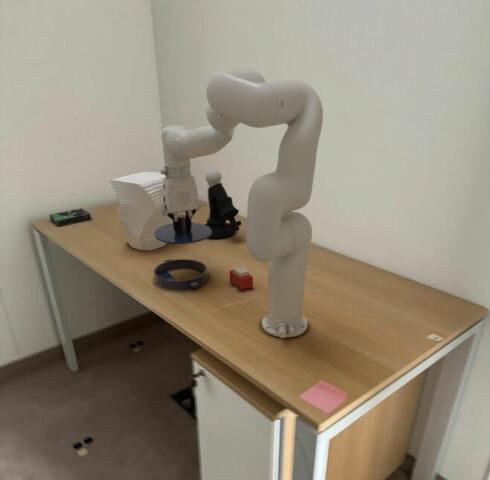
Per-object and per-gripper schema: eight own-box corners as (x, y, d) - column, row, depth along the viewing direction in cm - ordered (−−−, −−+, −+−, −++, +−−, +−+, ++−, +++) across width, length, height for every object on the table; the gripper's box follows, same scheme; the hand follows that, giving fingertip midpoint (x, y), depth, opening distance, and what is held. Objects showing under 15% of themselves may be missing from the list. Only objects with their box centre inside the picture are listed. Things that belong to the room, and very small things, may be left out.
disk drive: (82, 214, 214) (50, 220, 206) (81, 208, 212) (48, 214, 204) (91, 219, 207) (58, 226, 199) (90, 213, 205) (57, 220, 197)
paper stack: (113, 245, 180) (102, 177, 166) (167, 227, 197) (161, 164, 183) (146, 260, 168) (137, 188, 154) (201, 239, 185) (197, 173, 171)
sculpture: (222, 224, 200) (220, 164, 187) (254, 240, 184) (254, 175, 170) (191, 231, 193) (187, 169, 180) (221, 249, 176) (219, 182, 163)
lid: (167, 250, 137) (165, 229, 134) (146, 231, 150) (144, 213, 147) (221, 238, 144) (220, 219, 141) (197, 222, 158) (196, 204, 154)
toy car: (252, 289, 147) (252, 272, 144) (241, 292, 146) (241, 275, 142) (241, 280, 153) (240, 263, 150) (229, 283, 151) (229, 266, 148)
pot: (170, 299, 142) (169, 289, 140) (144, 272, 159) (143, 263, 157) (220, 286, 149) (219, 276, 148) (190, 261, 166) (190, 252, 164)
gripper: (156, 178, 131) (163, 240, 140) (208, 170, 138) (211, 230, 147) (147, 172, 136) (154, 232, 146) (197, 165, 143) (201, 223, 153)
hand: (182, 231), depth 146 cm, fingers closed on lid, 2 cm apart
